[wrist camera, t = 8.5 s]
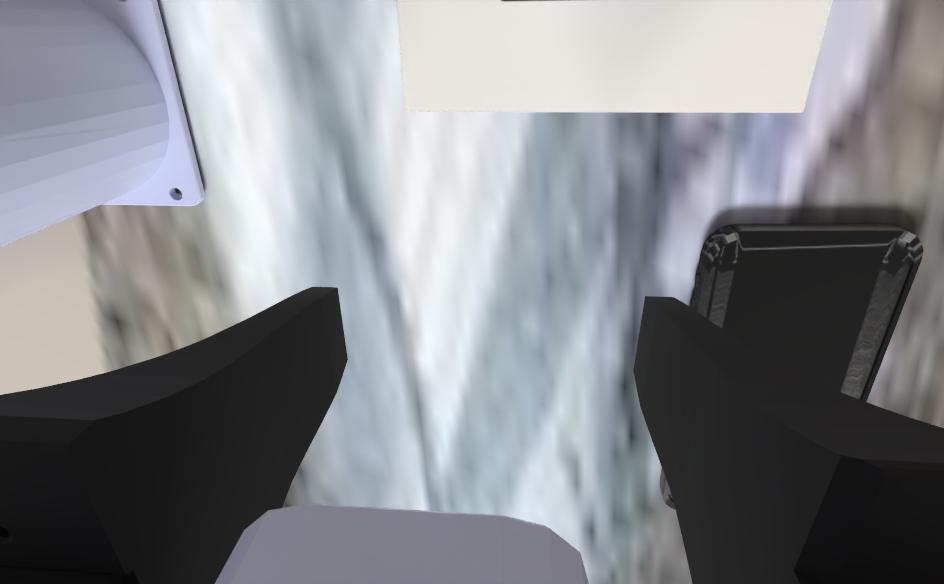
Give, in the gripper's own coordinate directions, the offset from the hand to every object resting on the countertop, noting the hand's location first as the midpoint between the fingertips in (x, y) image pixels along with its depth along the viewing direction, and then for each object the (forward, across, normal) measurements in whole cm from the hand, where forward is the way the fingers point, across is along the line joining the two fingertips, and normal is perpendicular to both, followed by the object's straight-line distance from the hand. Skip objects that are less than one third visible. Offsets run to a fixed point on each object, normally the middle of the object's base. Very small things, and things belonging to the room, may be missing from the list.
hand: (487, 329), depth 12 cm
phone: (+10, -12, +8) cm, 18 cm away
